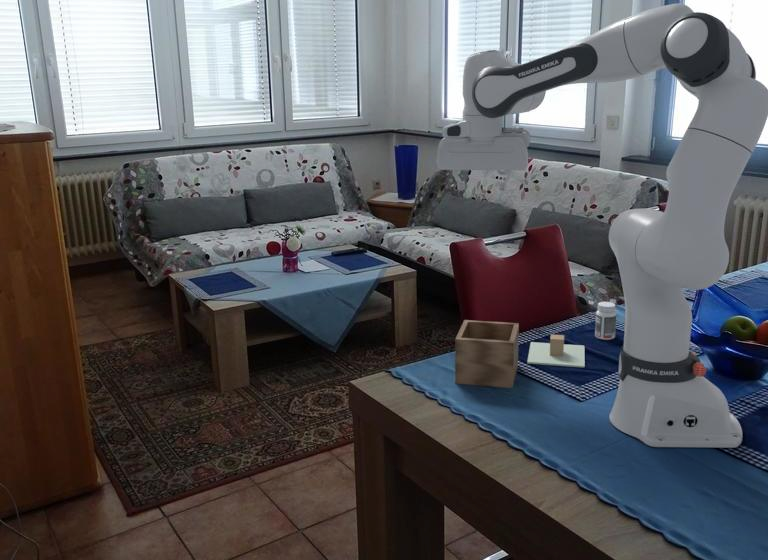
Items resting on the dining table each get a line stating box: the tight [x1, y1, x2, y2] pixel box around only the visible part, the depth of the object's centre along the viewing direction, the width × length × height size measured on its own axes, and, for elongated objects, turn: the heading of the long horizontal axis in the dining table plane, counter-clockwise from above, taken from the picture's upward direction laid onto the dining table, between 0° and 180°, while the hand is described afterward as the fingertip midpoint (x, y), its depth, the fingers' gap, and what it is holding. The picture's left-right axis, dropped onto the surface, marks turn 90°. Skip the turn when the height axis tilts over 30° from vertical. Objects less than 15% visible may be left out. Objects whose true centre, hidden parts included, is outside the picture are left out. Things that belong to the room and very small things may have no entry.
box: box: [454, 319, 520, 389], centre depth 156 cm, size 12×12×10 cm
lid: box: [526, 334, 586, 368], centre depth 167 cm, size 12×12×5 cm
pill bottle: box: [594, 301, 617, 341], centre depth 176 cm, size 5×5×8 cm
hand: (481, 189), depth 165 cm, fingers open, 8 cm apart
